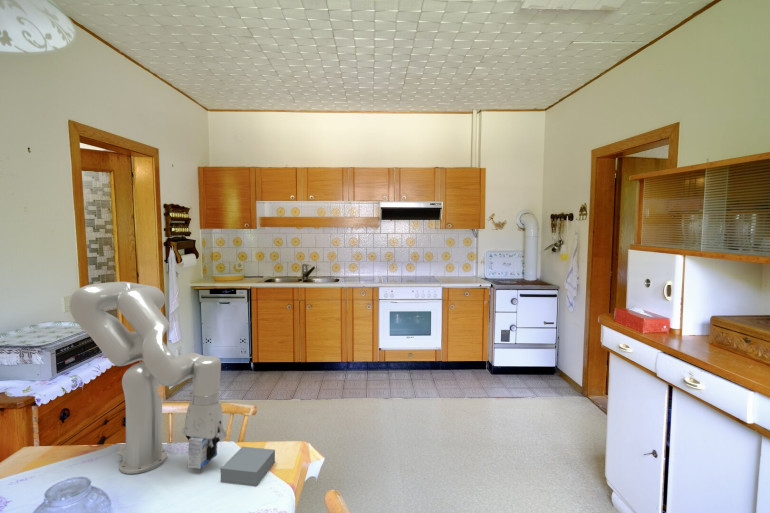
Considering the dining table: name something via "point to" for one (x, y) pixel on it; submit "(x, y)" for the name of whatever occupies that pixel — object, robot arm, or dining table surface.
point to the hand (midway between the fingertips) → (202, 455)
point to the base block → (248, 466)
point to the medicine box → (198, 452)
